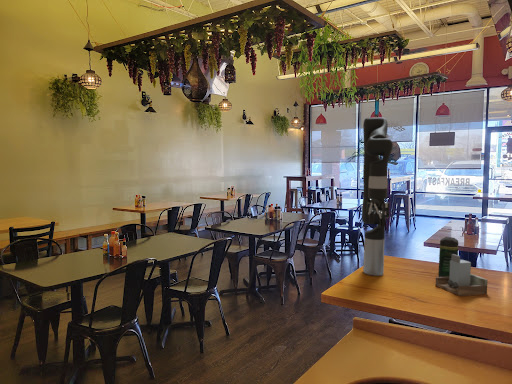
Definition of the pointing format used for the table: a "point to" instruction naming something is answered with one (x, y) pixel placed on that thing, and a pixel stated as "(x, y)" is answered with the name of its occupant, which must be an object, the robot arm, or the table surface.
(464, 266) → the grey upright block
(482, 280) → the tray
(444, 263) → the coffee jar
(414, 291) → the table surface
